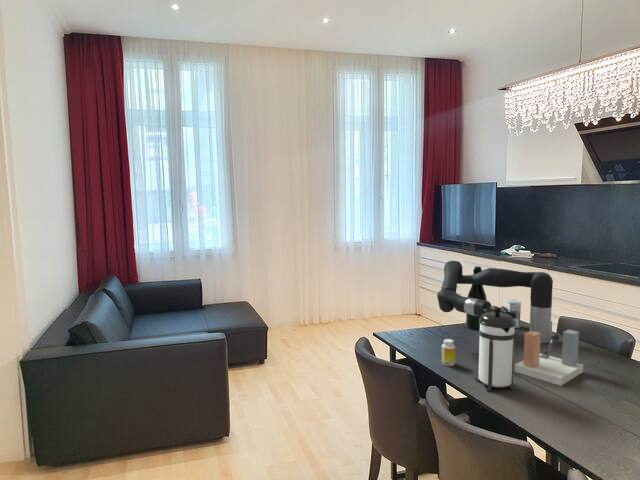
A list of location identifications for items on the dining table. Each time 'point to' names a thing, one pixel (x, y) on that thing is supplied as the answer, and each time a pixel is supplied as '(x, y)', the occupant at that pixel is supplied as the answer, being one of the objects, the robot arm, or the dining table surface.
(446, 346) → the supplement bottle
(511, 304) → the syrup box
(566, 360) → the slate slider
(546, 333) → the robot arm
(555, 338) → the toggle lever
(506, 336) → the coffee press
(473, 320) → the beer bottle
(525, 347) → the terracotta slider
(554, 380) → the control board
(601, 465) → the dining table surface
